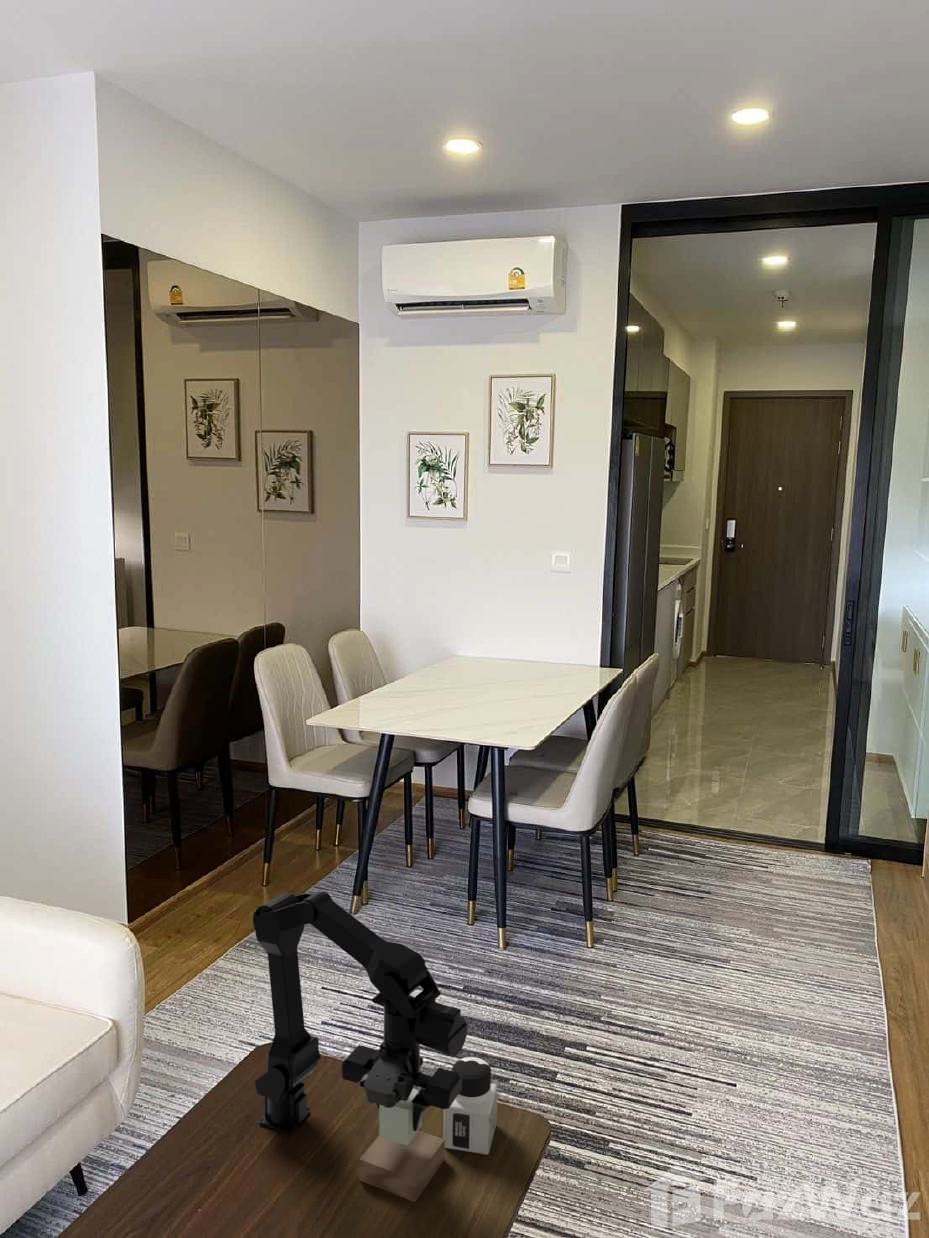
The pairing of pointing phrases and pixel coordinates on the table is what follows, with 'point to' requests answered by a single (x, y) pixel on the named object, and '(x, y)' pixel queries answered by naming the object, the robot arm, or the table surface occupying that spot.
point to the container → (472, 1108)
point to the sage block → (398, 1121)
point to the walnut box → (402, 1164)
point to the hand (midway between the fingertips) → (400, 1124)
